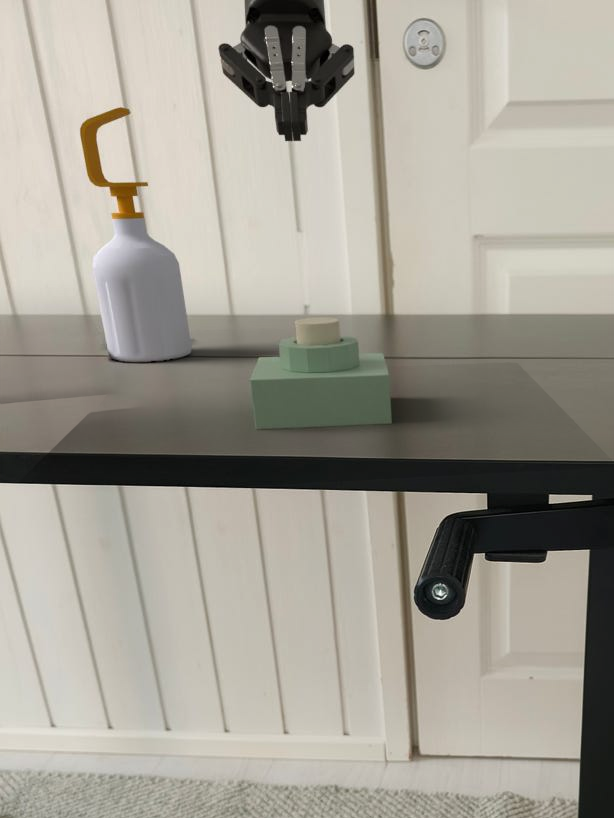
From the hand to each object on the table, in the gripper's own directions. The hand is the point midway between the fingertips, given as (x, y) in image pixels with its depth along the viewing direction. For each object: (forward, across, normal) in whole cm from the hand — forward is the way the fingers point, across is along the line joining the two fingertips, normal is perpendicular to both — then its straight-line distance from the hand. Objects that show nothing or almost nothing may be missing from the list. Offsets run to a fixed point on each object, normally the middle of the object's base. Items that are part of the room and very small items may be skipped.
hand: (292, 133), depth 83 cm
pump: (+23, +1, 0) cm, 23 cm away
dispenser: (+26, +1, +4) cm, 27 cm away
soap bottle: (+4, -19, +27) cm, 33 cm away
